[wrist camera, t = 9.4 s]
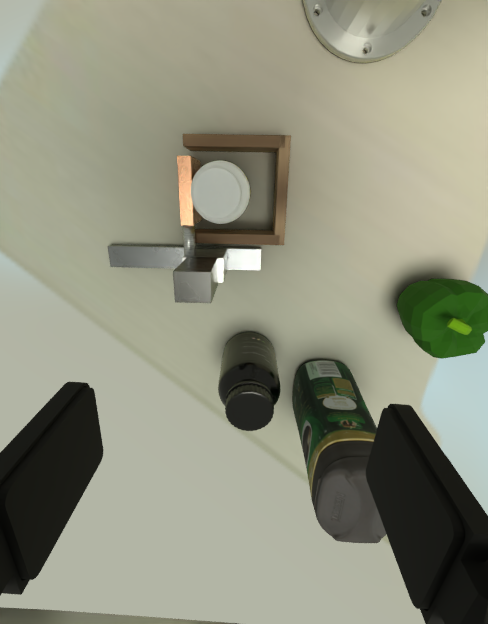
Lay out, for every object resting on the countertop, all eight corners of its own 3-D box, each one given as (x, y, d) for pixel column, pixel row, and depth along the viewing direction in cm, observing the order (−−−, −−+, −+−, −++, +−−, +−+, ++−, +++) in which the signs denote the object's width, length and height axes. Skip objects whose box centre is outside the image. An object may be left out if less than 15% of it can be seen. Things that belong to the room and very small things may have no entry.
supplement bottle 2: (264, 381, 43) (268, 448, 32) (217, 366, 43) (204, 429, 32) (283, 339, 41) (294, 395, 30) (233, 322, 40) (226, 374, 29)
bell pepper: (469, 303, 39) (539, 339, 29) (410, 343, 41) (458, 388, 31) (434, 252, 37) (497, 273, 27) (374, 297, 39) (413, 331, 29)
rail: (112, 244, 37) (107, 246, 36) (260, 247, 37) (261, 249, 36) (114, 264, 38) (110, 266, 37) (260, 267, 38) (260, 270, 37)
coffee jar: (344, 416, 45) (401, 557, 28) (289, 414, 45) (312, 553, 28) (355, 357, 42) (428, 476, 24) (295, 355, 42) (326, 471, 25)
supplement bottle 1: (195, 171, 34) (175, 165, 25) (244, 159, 33) (242, 148, 24) (208, 222, 36) (194, 233, 27) (255, 211, 35) (256, 219, 26)
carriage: (188, 160, 33) (156, 145, 22) (227, 161, 33) (215, 147, 22) (193, 267, 37) (167, 302, 26) (227, 268, 37) (217, 303, 26)
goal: (190, 140, 33) (182, 133, 29) (286, 141, 33) (290, 135, 29) (194, 237, 37) (187, 242, 33) (280, 239, 36) (284, 245, 33)
